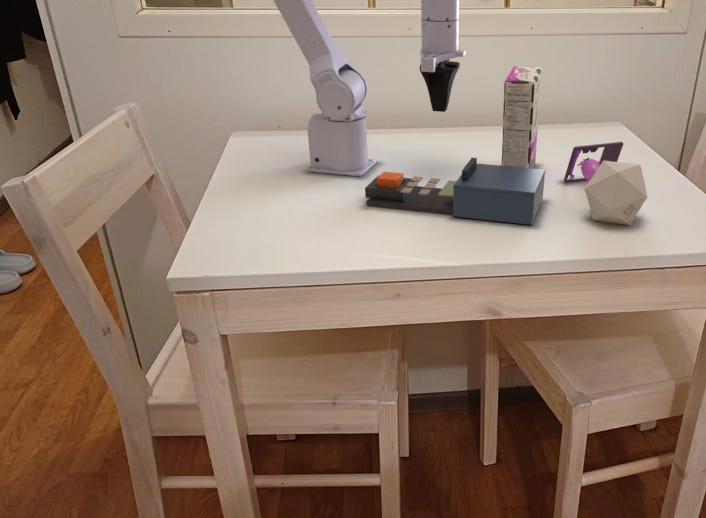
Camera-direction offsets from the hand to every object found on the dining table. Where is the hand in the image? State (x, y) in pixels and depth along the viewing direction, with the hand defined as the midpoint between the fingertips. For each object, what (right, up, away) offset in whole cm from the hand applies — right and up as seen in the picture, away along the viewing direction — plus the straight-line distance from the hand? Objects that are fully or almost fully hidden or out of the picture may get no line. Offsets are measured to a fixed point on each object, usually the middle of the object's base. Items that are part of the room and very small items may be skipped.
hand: (439, 110), depth 117 cm
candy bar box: (+13, -9, +6) cm, 17 cm away
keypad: (-1, -14, -8) cm, 16 cm away
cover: (+9, -18, -9) cm, 22 cm away
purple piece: (+26, -12, +2) cm, 28 cm away
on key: (-8, -14, -6) cm, 17 cm away
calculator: (-3, -16, -6) cm, 17 cm away
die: (+26, -20, -11) cm, 34 cm away
